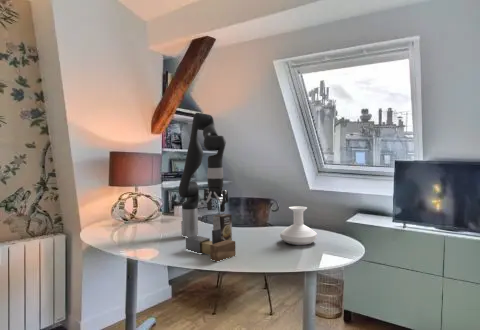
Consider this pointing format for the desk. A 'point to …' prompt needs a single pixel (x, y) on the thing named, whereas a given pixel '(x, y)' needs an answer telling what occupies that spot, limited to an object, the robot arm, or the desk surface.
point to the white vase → (298, 229)
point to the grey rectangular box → (195, 243)
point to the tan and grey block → (215, 238)
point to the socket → (222, 250)
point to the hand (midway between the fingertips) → (215, 210)
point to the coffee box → (223, 225)
